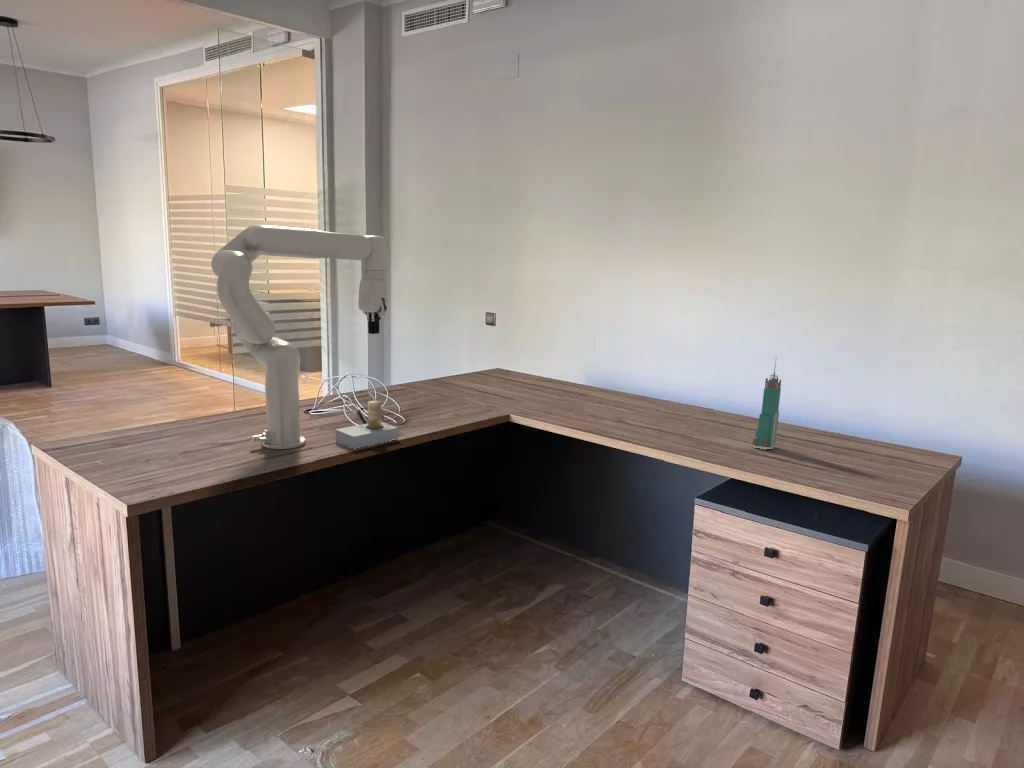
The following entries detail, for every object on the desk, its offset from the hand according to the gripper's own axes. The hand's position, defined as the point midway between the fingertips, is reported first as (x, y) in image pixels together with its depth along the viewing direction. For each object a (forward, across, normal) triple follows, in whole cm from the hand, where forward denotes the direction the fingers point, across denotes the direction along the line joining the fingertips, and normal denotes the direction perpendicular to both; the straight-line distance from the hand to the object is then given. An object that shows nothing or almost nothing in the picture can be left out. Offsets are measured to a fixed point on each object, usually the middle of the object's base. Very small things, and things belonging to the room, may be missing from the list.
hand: (373, 333), depth 225 cm
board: (+32, +9, -9) cm, 35 cm away
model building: (+33, -15, +9) cm, 37 cm away
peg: (+32, +9, -6) cm, 34 cm away
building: (+32, +94, +85) cm, 131 cm away
